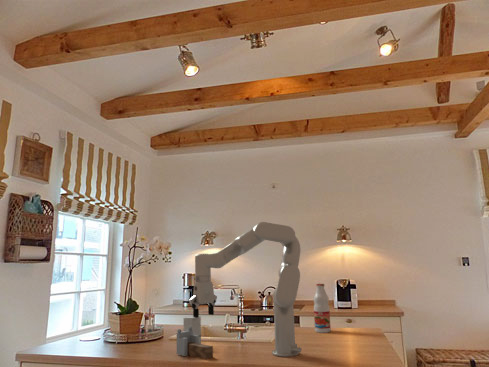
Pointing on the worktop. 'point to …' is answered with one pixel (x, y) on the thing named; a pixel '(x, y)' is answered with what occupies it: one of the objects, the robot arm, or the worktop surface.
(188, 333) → the grey stepped block
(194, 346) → the wooden block
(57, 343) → the worktop surface
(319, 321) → the fruit juice
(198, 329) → the skincare box
